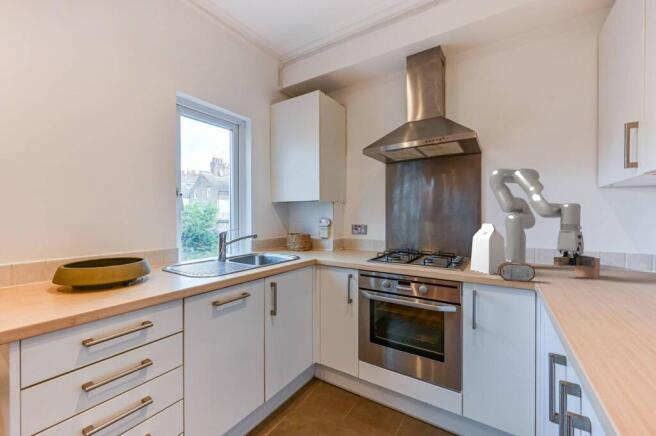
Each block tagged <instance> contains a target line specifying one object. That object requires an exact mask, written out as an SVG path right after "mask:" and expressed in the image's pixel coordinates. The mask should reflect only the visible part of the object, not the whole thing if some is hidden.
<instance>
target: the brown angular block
mask: <svg viewBox="0 0 656 436" xmlns="http://www.w3.org/2000/svg"><path fill="white" fill-rule="evenodd" d="M568 256H569V257H562V256H553V266H557V267H571V266H570V265H569V261H570V258H571V254H570V253H569V252H568ZM594 258H595V256H589V255H583V254H581V255H579V256H578V258H576V266H585V267H590V268H594Z"/></svg>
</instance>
